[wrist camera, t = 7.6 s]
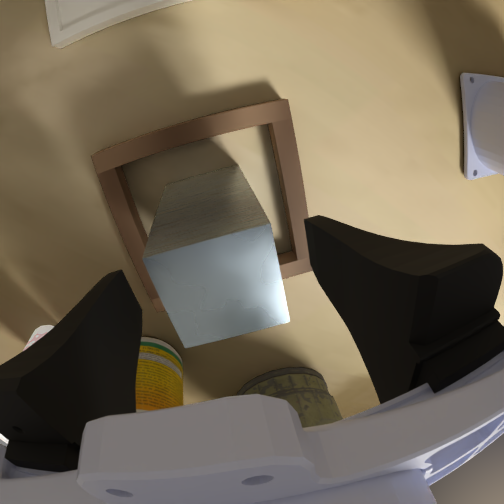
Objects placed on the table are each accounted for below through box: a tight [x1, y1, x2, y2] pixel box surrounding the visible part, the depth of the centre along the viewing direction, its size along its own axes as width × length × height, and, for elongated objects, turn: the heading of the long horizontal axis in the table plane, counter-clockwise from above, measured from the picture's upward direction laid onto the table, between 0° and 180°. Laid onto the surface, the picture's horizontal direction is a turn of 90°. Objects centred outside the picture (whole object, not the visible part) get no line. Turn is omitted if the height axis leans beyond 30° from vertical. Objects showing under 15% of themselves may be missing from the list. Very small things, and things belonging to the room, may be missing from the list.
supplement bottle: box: [135, 337, 183, 412], centre depth 18 cm, size 5×5×10 cm
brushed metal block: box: [142, 165, 290, 348], centre depth 14 cm, size 4×4×8 cm
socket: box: [91, 99, 313, 312], centre depth 16 cm, size 10×10×1 cm
